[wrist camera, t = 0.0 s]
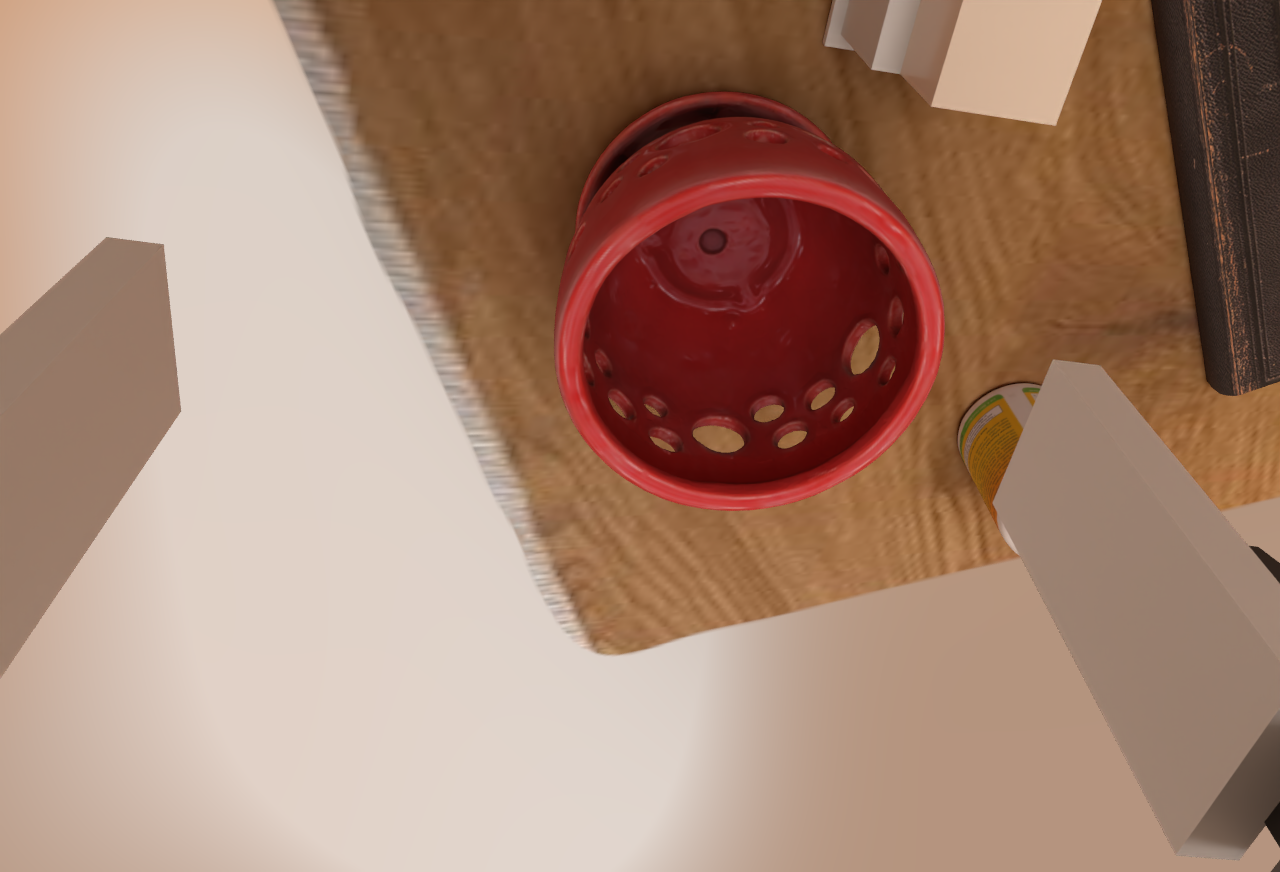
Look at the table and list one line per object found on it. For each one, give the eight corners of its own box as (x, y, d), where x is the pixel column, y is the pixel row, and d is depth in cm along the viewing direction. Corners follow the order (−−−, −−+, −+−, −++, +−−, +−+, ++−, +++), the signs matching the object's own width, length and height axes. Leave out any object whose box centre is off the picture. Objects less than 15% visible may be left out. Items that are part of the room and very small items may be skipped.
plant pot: (521, 300, 45) (495, 451, 35) (642, 12, 39) (653, 95, 29) (780, 401, 48) (824, 565, 38) (932, 149, 42) (1033, 268, 32)
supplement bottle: (961, 484, 51) (1026, 619, 43) (949, 395, 49) (1017, 522, 40) (1070, 458, 51) (1158, 590, 42) (1064, 367, 48) (1157, 489, 40)
